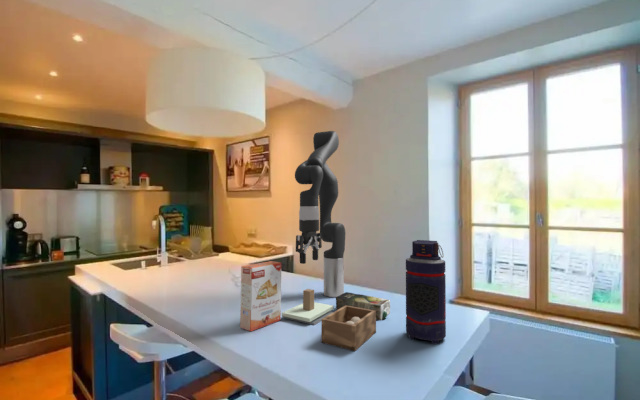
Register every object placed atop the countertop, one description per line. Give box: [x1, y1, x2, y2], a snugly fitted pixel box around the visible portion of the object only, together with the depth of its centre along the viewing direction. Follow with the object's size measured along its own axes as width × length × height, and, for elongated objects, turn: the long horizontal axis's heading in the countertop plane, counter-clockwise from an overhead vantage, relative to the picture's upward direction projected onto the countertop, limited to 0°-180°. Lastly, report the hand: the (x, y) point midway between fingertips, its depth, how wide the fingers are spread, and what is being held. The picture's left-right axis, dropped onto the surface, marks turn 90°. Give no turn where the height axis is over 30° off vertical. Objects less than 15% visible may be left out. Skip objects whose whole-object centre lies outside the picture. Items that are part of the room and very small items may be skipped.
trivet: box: [281, 310, 334, 326], centre depth 121 cm, size 14×14×1 cm
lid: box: [281, 288, 335, 322], centre depth 121 cm, size 17×12×9 cm
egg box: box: [320, 305, 377, 352], centre depth 101 cm, size 16×11×7 cm
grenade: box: [405, 239, 447, 345], centre depth 102 cm, size 14×12×30 cm
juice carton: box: [335, 291, 391, 321], centre depth 125 cm, size 20×10×6 cm, turn 58°
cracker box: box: [239, 260, 282, 332], centre depth 112 cm, size 14×6×21 cm, turn 142°
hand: (309, 261), depth 121 cm, fingers open, 8 cm apart
